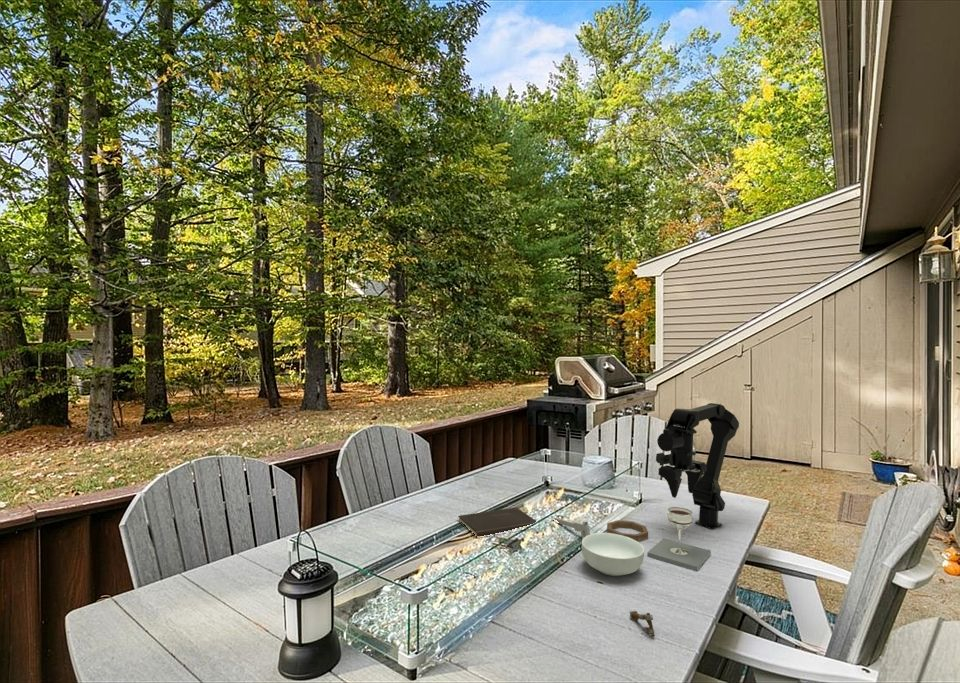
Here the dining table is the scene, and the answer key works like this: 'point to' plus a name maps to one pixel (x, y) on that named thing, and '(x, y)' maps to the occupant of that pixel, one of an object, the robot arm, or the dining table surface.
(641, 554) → the cereal bowl
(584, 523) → the caliper
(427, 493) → the dining table surface
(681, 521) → the wineglass
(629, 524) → the ring holder
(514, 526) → the hardcover book
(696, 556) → the slate board
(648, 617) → the wooden post with brackets
